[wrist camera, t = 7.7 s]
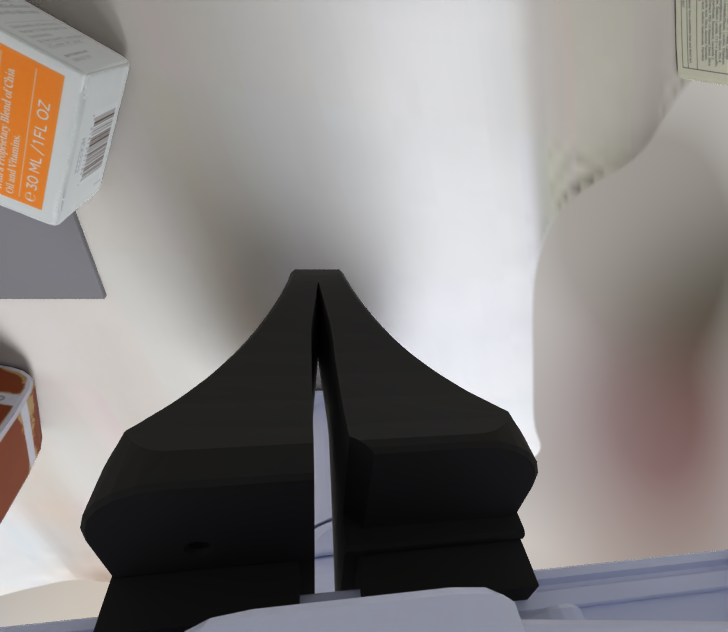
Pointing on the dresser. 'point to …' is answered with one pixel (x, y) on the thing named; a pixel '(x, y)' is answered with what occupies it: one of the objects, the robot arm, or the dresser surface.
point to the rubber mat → (45, 259)
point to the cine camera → (17, 433)
